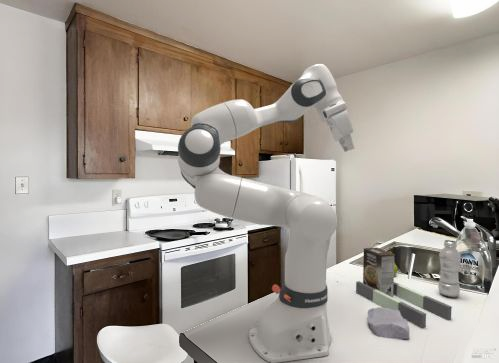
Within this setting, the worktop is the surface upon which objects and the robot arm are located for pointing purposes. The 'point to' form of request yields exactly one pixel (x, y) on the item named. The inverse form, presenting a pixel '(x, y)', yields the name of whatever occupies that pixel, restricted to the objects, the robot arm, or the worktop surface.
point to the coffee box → (379, 270)
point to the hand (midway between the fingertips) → (349, 150)
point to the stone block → (388, 323)
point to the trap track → (406, 310)
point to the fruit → (394, 266)
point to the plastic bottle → (449, 269)
